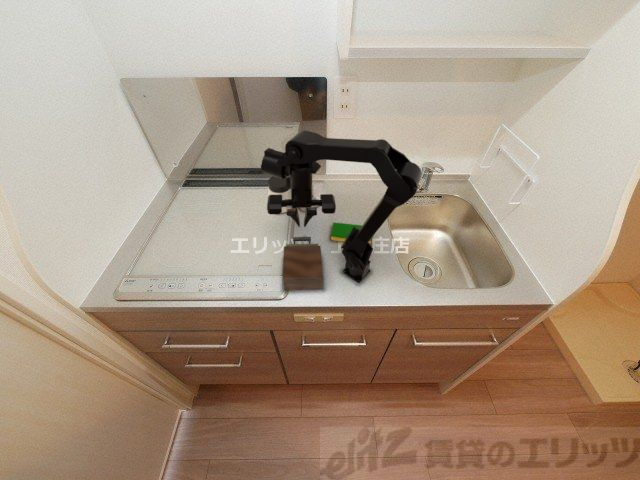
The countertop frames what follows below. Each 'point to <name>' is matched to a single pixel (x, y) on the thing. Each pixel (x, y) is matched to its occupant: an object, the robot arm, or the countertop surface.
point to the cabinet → (302, 268)
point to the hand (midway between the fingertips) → (301, 225)
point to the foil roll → (312, 197)
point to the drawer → (302, 240)
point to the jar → (279, 189)
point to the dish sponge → (343, 231)
